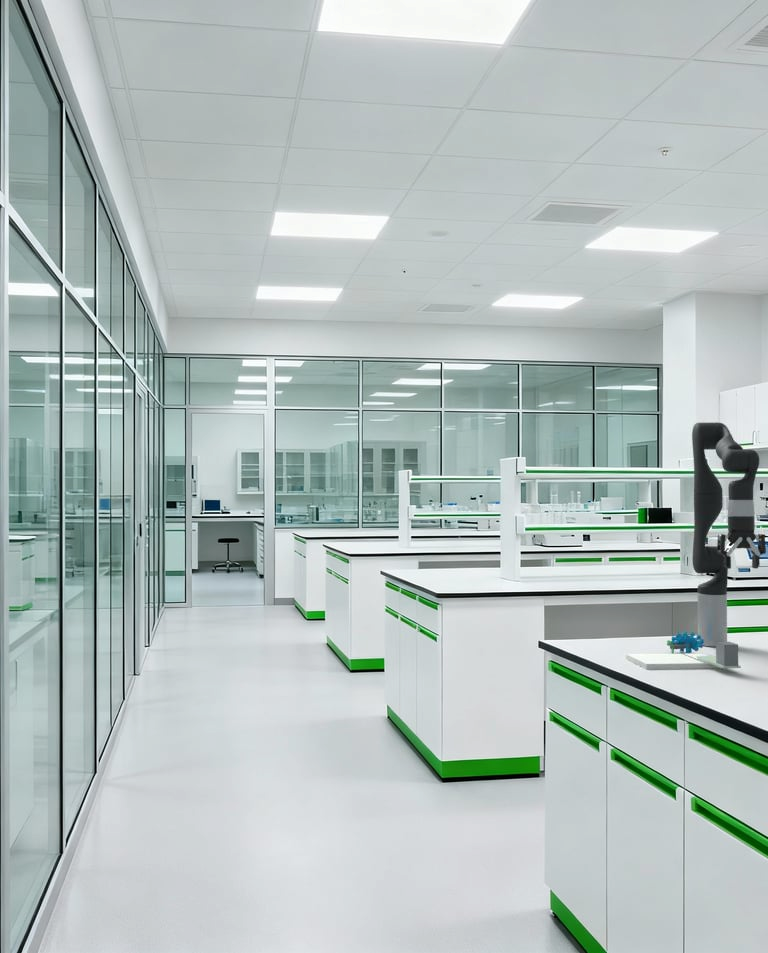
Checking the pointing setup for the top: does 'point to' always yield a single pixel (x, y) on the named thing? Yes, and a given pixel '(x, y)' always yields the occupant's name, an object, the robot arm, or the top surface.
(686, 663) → the ticket board
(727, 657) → the stub
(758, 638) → the top surface
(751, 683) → the top surface
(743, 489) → the robot arm
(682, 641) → the gear
